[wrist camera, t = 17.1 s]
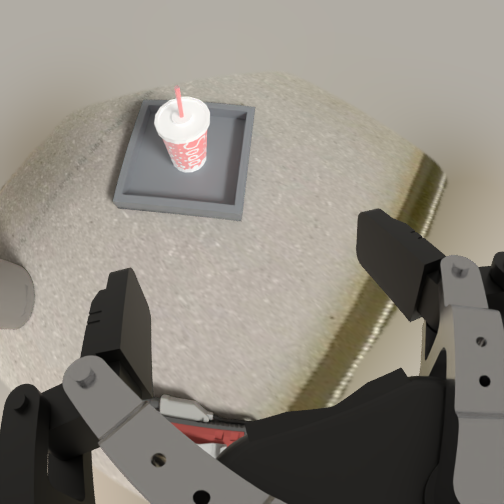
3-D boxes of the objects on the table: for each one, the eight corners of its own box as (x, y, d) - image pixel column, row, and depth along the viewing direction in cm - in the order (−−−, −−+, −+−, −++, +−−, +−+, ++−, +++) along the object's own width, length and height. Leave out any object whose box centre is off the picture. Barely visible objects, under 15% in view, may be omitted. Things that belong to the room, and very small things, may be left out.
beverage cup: (169, 182, 39) (147, 117, 25) (163, 143, 40) (144, 73, 26) (216, 172, 40) (214, 104, 26) (208, 134, 41) (204, 61, 27)
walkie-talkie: (264, 406, 35) (103, 379, 34) (269, 416, 30) (89, 385, 29) (255, 467, 33) (101, 440, 32) (259, 482, 28) (88, 452, 27)
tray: (118, 208, 38) (112, 201, 36) (146, 109, 42) (143, 99, 39) (241, 221, 39) (242, 214, 37) (253, 117, 43) (255, 107, 40)
